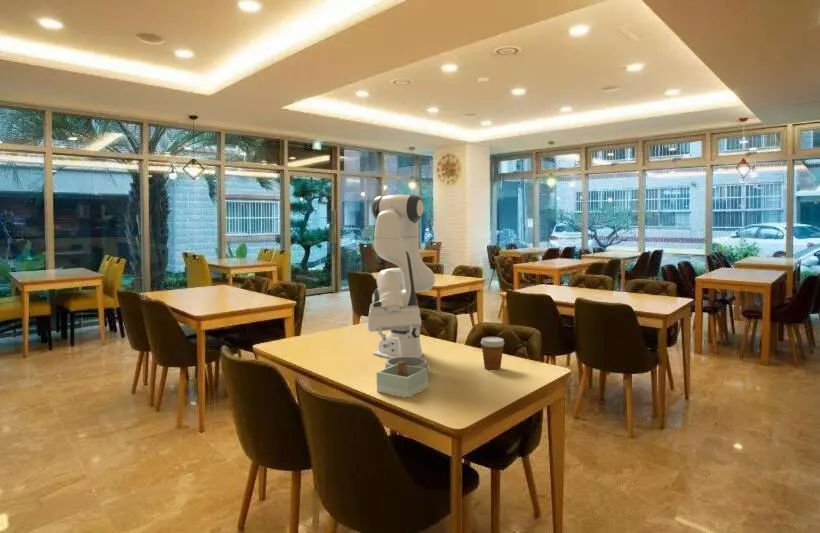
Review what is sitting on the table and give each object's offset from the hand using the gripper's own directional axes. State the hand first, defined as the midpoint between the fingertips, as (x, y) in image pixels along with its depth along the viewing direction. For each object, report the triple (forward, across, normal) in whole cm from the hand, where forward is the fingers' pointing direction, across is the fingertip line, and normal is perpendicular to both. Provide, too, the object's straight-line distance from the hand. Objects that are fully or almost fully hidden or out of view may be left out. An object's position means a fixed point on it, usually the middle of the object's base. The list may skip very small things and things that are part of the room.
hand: (396, 338), depth 193 cm
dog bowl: (+6, -4, -19) cm, 21 cm away
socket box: (+18, 0, -5) cm, 18 cm away
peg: (+18, 0, -5) cm, 18 cm away
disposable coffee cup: (+6, -39, -20) cm, 45 cm away
